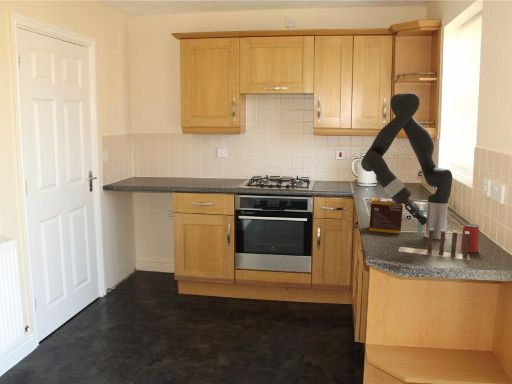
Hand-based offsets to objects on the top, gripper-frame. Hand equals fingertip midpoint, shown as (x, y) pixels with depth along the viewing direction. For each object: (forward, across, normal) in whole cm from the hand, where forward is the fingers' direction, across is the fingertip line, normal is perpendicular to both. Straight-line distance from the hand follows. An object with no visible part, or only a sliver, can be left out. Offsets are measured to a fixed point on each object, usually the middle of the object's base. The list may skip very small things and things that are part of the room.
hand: (425, 222), depth 204 cm
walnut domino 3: (+17, 0, 0) cm, 17 cm away
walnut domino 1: (+11, 0, +7) cm, 13 cm away
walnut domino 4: (+20, 0, -3) cm, 20 cm away
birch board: (+13, 0, +7) cm, 14 cm away
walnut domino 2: (+14, 0, +4) cm, 14 cm away
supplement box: (-4, +40, +24) cm, 47 cm away
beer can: (+23, +13, -3) cm, 26 cm away
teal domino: (+2, 0, +5) cm, 5 cm away
